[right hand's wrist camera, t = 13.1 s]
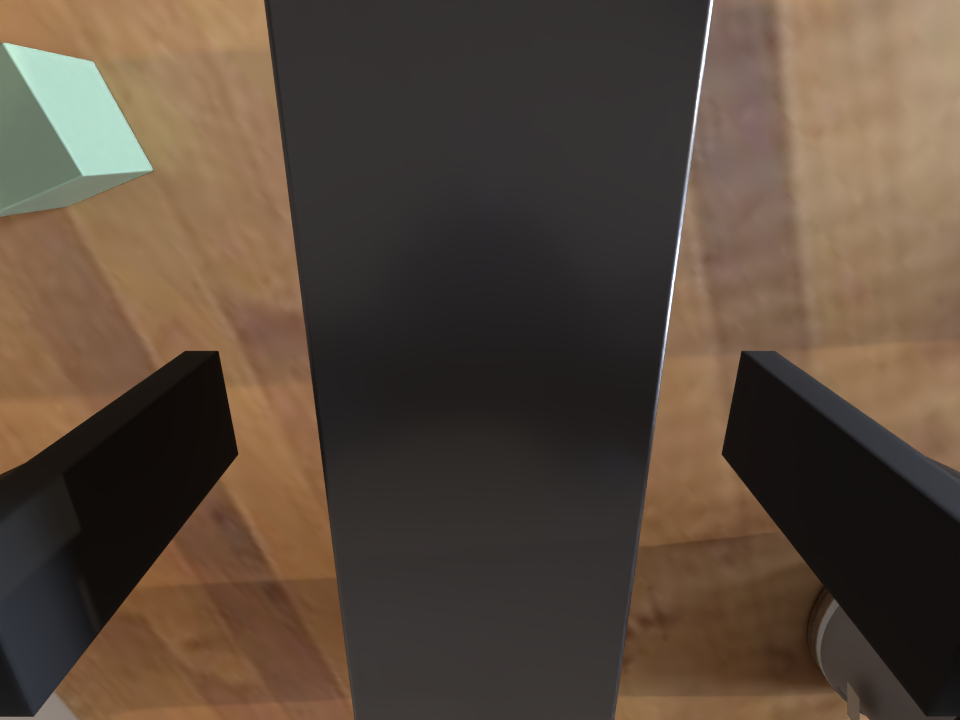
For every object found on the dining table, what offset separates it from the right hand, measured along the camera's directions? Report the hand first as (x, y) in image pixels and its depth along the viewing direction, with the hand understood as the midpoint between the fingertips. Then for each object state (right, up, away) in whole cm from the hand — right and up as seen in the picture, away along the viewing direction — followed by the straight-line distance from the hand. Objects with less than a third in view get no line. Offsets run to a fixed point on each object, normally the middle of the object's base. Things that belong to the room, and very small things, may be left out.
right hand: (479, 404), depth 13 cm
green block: (-19, +12, +13) cm, 26 cm away
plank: (0, +9, -1) cm, 9 cm away
